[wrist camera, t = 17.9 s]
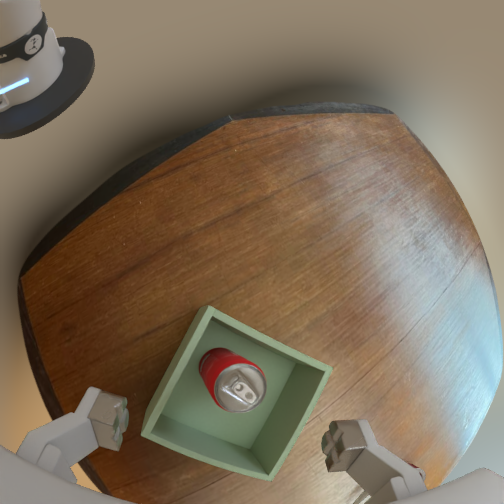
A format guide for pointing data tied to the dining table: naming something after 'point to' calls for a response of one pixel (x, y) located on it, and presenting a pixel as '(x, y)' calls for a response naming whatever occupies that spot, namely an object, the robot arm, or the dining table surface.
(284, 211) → the dining table surface
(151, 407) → the bin
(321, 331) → the dining table surface
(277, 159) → the dining table surface
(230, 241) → the dining table surface
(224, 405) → the beverage can
